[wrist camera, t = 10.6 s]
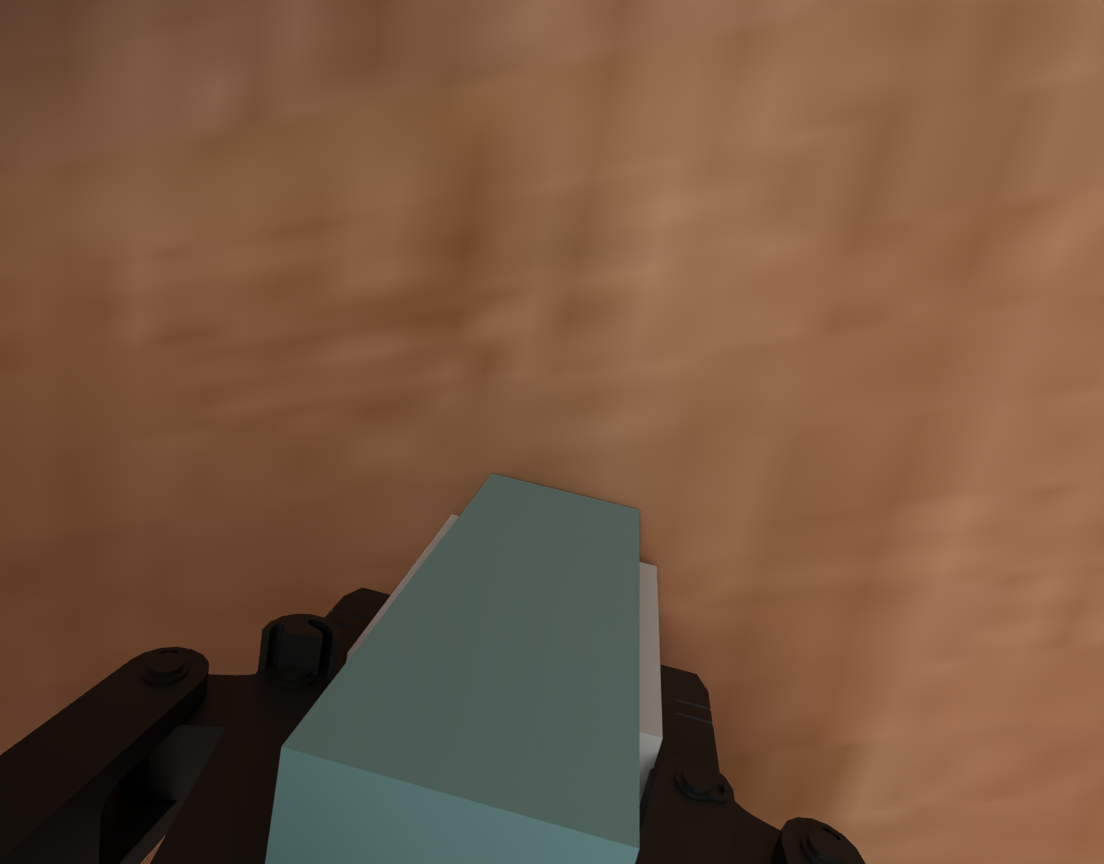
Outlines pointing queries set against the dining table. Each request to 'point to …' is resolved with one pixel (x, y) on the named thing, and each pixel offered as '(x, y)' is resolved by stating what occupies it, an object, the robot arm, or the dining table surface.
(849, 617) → the dining table surface
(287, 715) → the robot arm
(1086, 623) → the dining table surface
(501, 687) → the hammer tool
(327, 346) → the dining table surface
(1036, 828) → the dining table surface
